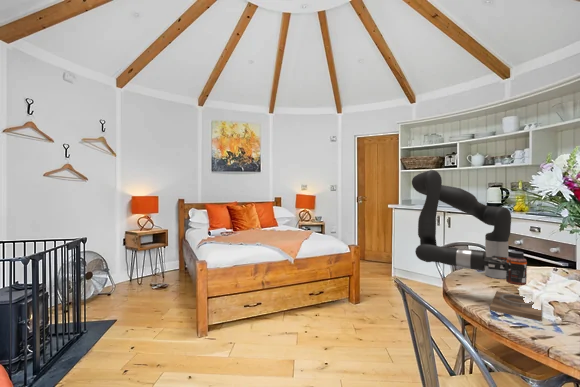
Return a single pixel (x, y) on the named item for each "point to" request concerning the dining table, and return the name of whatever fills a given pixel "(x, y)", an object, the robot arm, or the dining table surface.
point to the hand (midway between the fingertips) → (524, 266)
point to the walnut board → (514, 306)
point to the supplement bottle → (514, 275)
